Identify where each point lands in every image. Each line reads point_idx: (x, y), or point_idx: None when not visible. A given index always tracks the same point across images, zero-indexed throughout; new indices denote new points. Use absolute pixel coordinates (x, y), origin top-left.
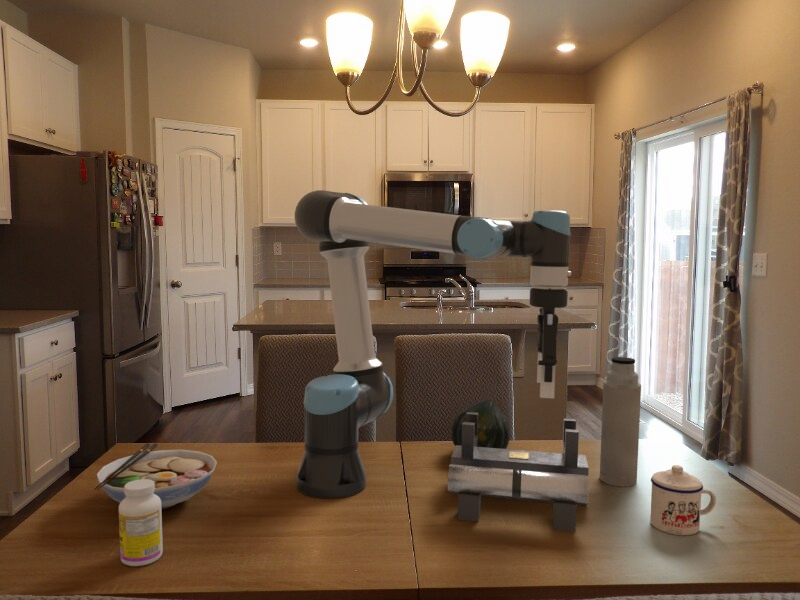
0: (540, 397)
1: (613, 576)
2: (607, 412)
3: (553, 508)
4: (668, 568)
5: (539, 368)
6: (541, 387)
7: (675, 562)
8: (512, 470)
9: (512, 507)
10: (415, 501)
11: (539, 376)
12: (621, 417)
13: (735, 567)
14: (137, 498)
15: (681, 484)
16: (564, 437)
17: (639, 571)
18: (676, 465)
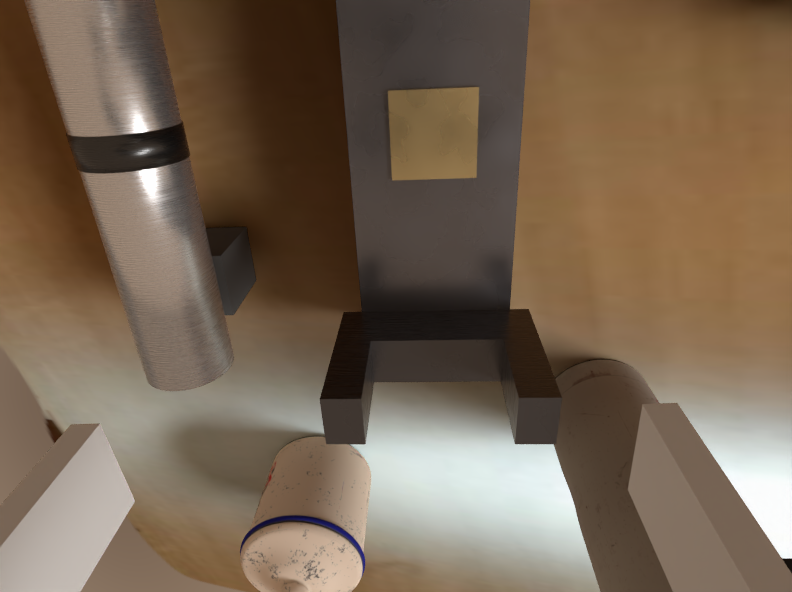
0: (71, 428)
1: (23, 343)
2: (653, 564)
3: (221, 241)
4: (116, 433)
5: (705, 538)
6: (17, 497)
7: (148, 447)
8: (96, 134)
9: (294, 100)
10: None
11: (666, 465)
12: (606, 590)
13: (179, 522)
14: None
15: (251, 573)
16: (505, 351)
17: (74, 388)
18: None
